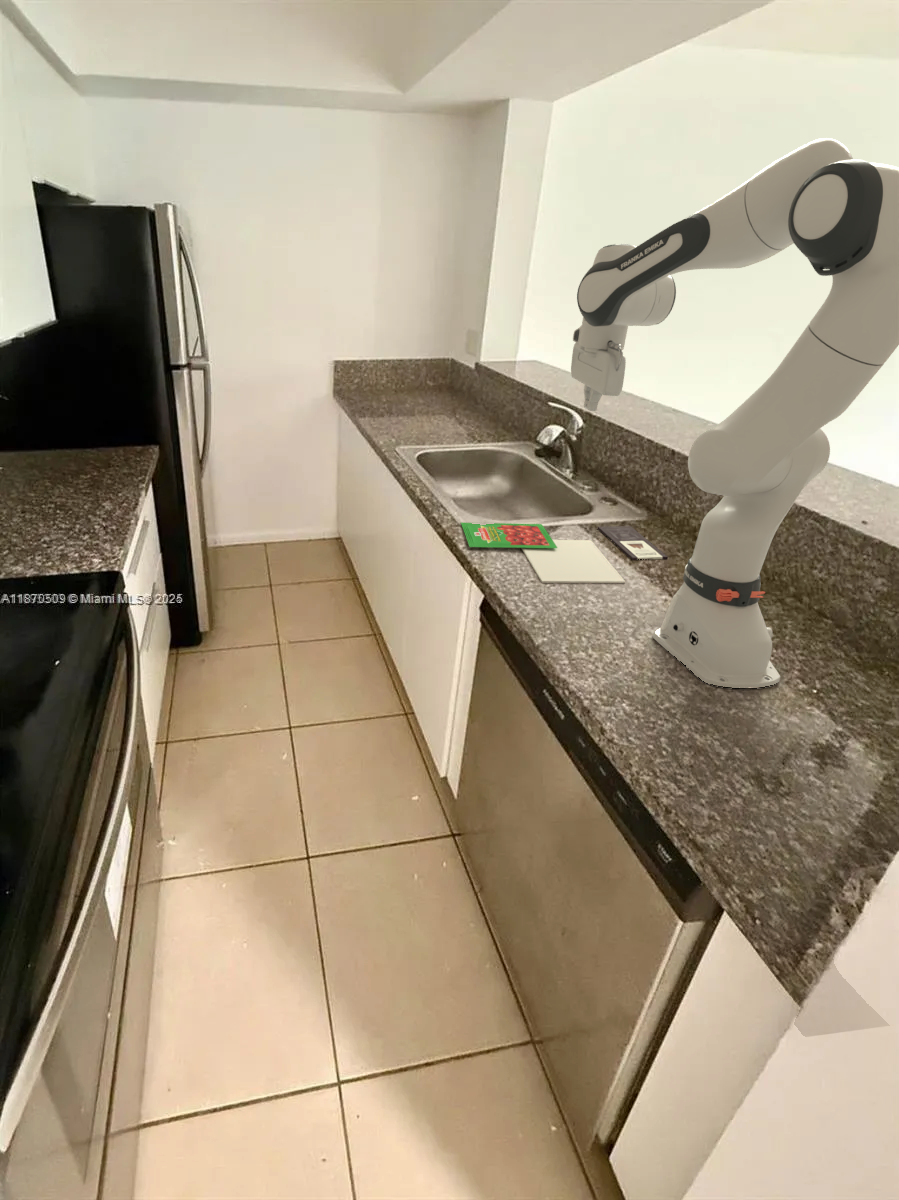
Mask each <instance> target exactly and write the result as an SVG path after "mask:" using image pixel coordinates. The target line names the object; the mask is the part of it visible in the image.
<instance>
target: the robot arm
mask: <svg viewBox="0 0 899 1200" xmlns="http://www.w3.org/2000/svg"><path fill="white" fill-rule="evenodd" d="M792 245H795V246H796V248H797V249H798V250H799V251H800V252H801V253H802V254H803V256H804V257H806V258H807V259H808V261H809V263H810V265H811V266H812V268H813V269H814V272H816V274H818V275H819V276H822V277H826V276H829V277H830V276H832V285H831V289H830V291H829V294H828V295H827V297H826V299H825V300H824V301H823V303H822V304H821V306H820V308H819V309H818V310H817V312H816V313H815V315H814V316H813V317H812V319H811V320H810V321H809V323H808V324H807V326H806V327H805V328H804V330H803V332H802V333H801V334H800V336H799V337H798V338H797V340H796V342H795V343H794V344H793V345H792V347H791V349H790V350H789V351H788V353H787V354H786V355H785V357H784V358H783V360H782V361H781V362H780V364H778V366H777V367H776V369H775V370H774V371H773V373H772V374H771V375H770V376H769V377H768V378H767V380H765V381H764V382H763V383H762V385H761V386H759V388H757V389H756V390H755V391H754V392H753V393H752V394H751V395H750V396H749V397H748V398H747V399H746V400H745V401H744V402H743V403H742V404H741V405H739V406H738V407H737V408H735V410H734V411H732V413H730V415H728V416H727V417H726V418H725V419H723V420H722V421H720V422H719V423H717V425H715V426H714V427H712V428H709V429H708V430H706V431H704V432H703V433H702V434H700V435H699V436H698V437H696V439H695V441H694V442H692V446H691V447H690V449H689V454H688V458H687V459H688V460H687V467H688V473H689V476H690V478H691V480H692V482H693V483H694V484H695V486H696V487H698V489H700V490H701V491H703V492H705V493H708V494H713V495H718V496H723V497H722V499H720V501H719V502H718V503H717V504H716V505H715V507H713V508H712V509H710V510H709V512H707V514H706V515H705V516H704V518H703V519H702V522H701V524H700V528H699V530H698V535H697V538H696V542H695V546H694V549H693V551H692V556H691V557H690V558H689V559H688V561H687V563H686V564H685V568H684V573H683V577H682V578H683V583H682V585H681V586H680V588H678V590H677V591H676V593H675V594H674V595H673V596H672V599H671V600H670V603H669V605H668V607H667V610H666V613H665V615H664V619H663V621H662V623H661V626H660V627H658V628H657V629H656V630H655V631H654V633H653V635H652V638H653V639H654V640H655V641H656V642H657V643H658V644H659V645H661V647H663V648H664V649H665V650H666V651H667V652H668V651H669V652H668V653H670V654H671V655H672V656H673V657H674V656H675V657H676V658H677V660H678V662H680V661H681V662H682V663H683V664H684V665H686V667H685V668H686V669H688V668H689V669H688V670H689V671H690V670H691V671H692V672H693V673H694V674H693V673H692V672H691V671H690V672H691V673H692V674H693V675H695V677H697V678H698V677H699V678H700V679H701V680H702V681H701V680H700V679H699V678H698V679H699V680H700V681H701V682H703V681H704V682H706V683H708V685H710V684H713V685H718V686H723V687H724V686H725V687H732V688H739V687H740V688H744V687H745V688H748V687H765V686H769V687H771V686H770V685H773V686H775V685H777V684H778V683H779V682H780V681H781V675H780V674H779V672H778V670H777V669H776V668H775V667H776V666H774V665H773V663H772V662H771V660H770V659H771V656H772V650H773V640H772V638H773V633H774V632H773V629H772V628H771V627H769V626H767V625H766V623H765V619H764V616H763V614H762V611H761V609H760V606H759V603H758V602H759V601H760V598H764V596H762V595H765V594H766V591H765V590H764V591H763V590H762V591H761V585H762V584H761V575H760V573H761V571H762V568H763V565H764V562H765V560H766V557H767V554H768V552H769V549H770V546H771V543H772V541H773V538H774V536H775V534H776V532H777V530H778V529H779V527H780V525H781V523H782V522H783V520H784V519H785V517H786V516H787V514H788V513H789V511H790V510H791V508H792V506H793V505H794V504H795V502H796V500H798V498H799V496H800V495H801V493H802V492H803V491H804V490H805V488H806V487H807V486H808V485H809V484H810V483H811V482H812V481H813V480H814V479H815V478H816V477H818V476H819V475H820V474H821V473H822V472H823V471H824V469H825V468H826V466H827V464H828V462H829V459H830V455H831V449H830V448H831V446H830V445H831V444H830V441H829V438H828V437H827V434H826V433H825V432H824V430H822V427H824V426H825V425H827V424H829V423H830V422H832V421H834V420H835V419H837V418H839V417H840V416H841V415H842V414H843V413H844V412H846V411H847V409H849V407H850V406H851V405H852V404H853V402H854V401H855V400H856V399H857V397H858V396H859V395H860V394H861V392H862V391H863V390H864V389H865V387H867V385H868V384H869V382H871V380H872V379H873V378H874V376H875V375H876V374H877V373H878V372H879V371H880V370H881V368H882V367H883V366H884V364H885V363H886V362H887V361H888V359H889V358H890V357H891V356H892V355H893V353H894V352H895V351H896V349H897V347H898V346H899V167H898V166H894V165H889V164H885V163H877V162H869V161H866V160H863V159H858V158H857V159H856V158H853V156H852V154H851V152H850V151H849V149H848V148H847V146H845V145H844V144H843V143H841V142H840V141H839V140H836V139H833V138H827V137H826V138H825V137H824V138H818V139H815V140H812V141H810V142H807V144H803V145H802V146H800V147H798V148H797V149H794V150H793V151H790V152H789V153H788V154H786V155H784V156H782V157H780V158H778V159H776V160H775V161H773V162H772V163H771V164H768V165H767V166H766V167H764V168H762V170H760V171H759V172H757V173H755V174H754V175H753V176H752V177H750V178H749V179H748V180H746V181H745V182H743V183H741V184H740V185H739V186H738V187H736V188H735V189H733V190H732V191H730V192H728V193H727V194H725V195H723V196H722V197H721V198H719V199H717V200H716V201H714V202H711V204H709V205H707V206H705V207H703V208H702V209H700V210H698V211H696V212H694V213H692V214H691V215H688V216H686V217H685V218H683V219H681V220H679V221H677V222H675V223H673V224H671V225H670V226H668V227H666V228H665V229H663V230H662V231H660V232H658V233H656V234H655V235H653V236H652V237H649V239H647V240H645V241H643V242H642V243H640V244H639V245H637V246H636V245H634V244H630V243H619V244H618V243H617V244H616V243H614V244H608V245H604V246H603V247H602V248H600V249H599V250H598V251H597V253H596V255H595V258H594V261H593V263H592V266H591V267H590V268H589V269H588V270H587V272H586V273H585V274H584V276H583V277H582V279H581V281H580V282H579V285H578V288H577V293H576V302H577V305H578V309H579V312H580V314H581V316H582V321H581V322H582V323H581V325H580V326H579V327H578V328H576V329H575V330H574V331H573V335H572V341H573V343H574V344H573V348H572V349H573V350H572V355H571V363H570V373H571V378H573V379H575V381H578V382H580V383H581V384H584V387H583V393H584V401H583V402H584V403H583V407H584V409H586V410H588V411H589V412H596V411H597V410H598V404H599V402H600V400H601V398H602V396H609V397H611V396H612V397H618V396H620V395H621V393H622V391H623V388H624V387H623V386H624V381H625V370H626V363H627V362H626V359H627V358H626V356H625V354H624V351H623V350H624V349H625V344H626V338H627V334H628V329H629V327H633V326H635V327H637V326H639V327H650V326H656V325H659V324H661V323H663V321H665V320H666V318H668V316H669V315H670V313H671V311H672V310H673V309H674V305H675V301H676V297H677V290H676V289H677V288H676V287H677V286H676V282H675V279H674V278H673V276H672V275H674V274H678V273H681V272H686V271H693V270H705V269H706V270H708V269H709V270H710V269H712V270H717V269H723V270H724V269H725V270H727V269H729V270H730V269H742V268H746V267H749V266H751V265H754V264H758V263H760V262H762V261H764V260H767V259H770V258H771V257H773V256H775V255H777V254H778V253H780V252H782V251H784V250H786V249H787V248H788V247H790V246H792ZM675 657H674V658H675ZM676 658H675V659H676ZM681 662H680V663H681ZM682 663H681V664H682ZM683 664H682V665H683ZM684 665H683V666H684ZM704 682H703V683H704ZM706 683H705V684H706ZM776 683H777V684H776ZM774 684H775V685H774ZM713 685H712V686H713ZM718 686H717V687H718ZM723 687H722V688H723ZM732 688H731V689H732ZM765 688H766V687H765Z"/></svg>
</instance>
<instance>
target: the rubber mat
mask: <svg viewBox="0 0 899 1200" xmlns="http://www.w3.org/2000/svg"><path fill="white" fill-rule="evenodd" d="M552 540H553V542H554V543H555V545H556V546H557V548H521V550H522V552H523V554H524V556H525V557H526V559H527V560H528V562H529V564H530V566H531V567H532V569H533V571H534V572H535V575H536V576H537V577H538V579H539V581H540V582H541V584H625V583H626V581H625V579H624V578H623V577H622V576H621V574H620V573H619V572H618V571H617V570H616V568H615V567H614V566H613V565H612V564H611V562H609V560H608V559H607V558H606V557H605V555H604V554H603V553H602V551H601V550H600V549H599V548H598V547H597V546H596V544H595V543H594V542H593V541H592V540H591V539H589V540H588V539H587V540H586V539H552Z"/></svg>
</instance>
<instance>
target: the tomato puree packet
mask: <svg viewBox="0 0 899 1200" xmlns="http://www.w3.org/2000/svg"><path fill="white" fill-rule="evenodd" d="M472 523H473V522H460V524H461V527H462V529H463V532H464V535H465V539H466V541H467V544H468V546H469V548H510V549H511V548H515V549H520V548H557V546H556V545H555V543H554V542H553V540H554V539H552V537H551V536H550V534H549V532H548V531H547V530H546V528H545V527H544V525H543V524H542V523H511V522H510V523H509V522H508V523H506V522H503V523H500V522H495V523H494V522H493V523H494V524H486V525H480V524H472Z"/></svg>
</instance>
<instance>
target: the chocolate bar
mask: <svg viewBox="0 0 899 1200" xmlns="http://www.w3.org/2000/svg"><path fill="white" fill-rule="evenodd" d="M597 528H598V529H599V530H600V531H599V530H598V529H597V530H598V531H599V532H600V533H601V534H603V535H604V536H605V535H606V536H607V537H608V538H609V539H610V540H612V541H611V542H612V543H613V542H614V543H615V544H616V545H617V546H618V547H619V548H620V549H621V550H620V549H619V548H618V547H617V546H616V545H615V544H614V543H613V544H614V545H615V546H616V547H617V548H618V549H619V550H620V551H621V552H622V553H623V554H625V555H626V556H627V557H628V558H629V557H630V558H631V559H632V560H631V559H630V558H629V559H630V560H631V561H644V560H645V559H647V561H648V559H649V560H667V559H668V558H669V556H668V555H667V554H665V553H664V552H663V551H662V550H660V548H658V547H657V546H656V545H654V544H653V542H652V543H651V542H650V541H649V539H647V538H646V537H645V536H643V535H642V534H641V533H640V532H639V531H637V530H636V529H635V528H634V527H632V525H626V526H625V525H622V526H621V525H619V526H618V525H617V526H615V525H614V526H597ZM606 536H605V537H606ZM607 537H606V538H607ZM608 538H607V539H608ZM609 539H608V540H609ZM610 540H609V541H610ZM638 559H639V560H638ZM640 559H642V560H640ZM643 559H644V560H643Z"/></svg>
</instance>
